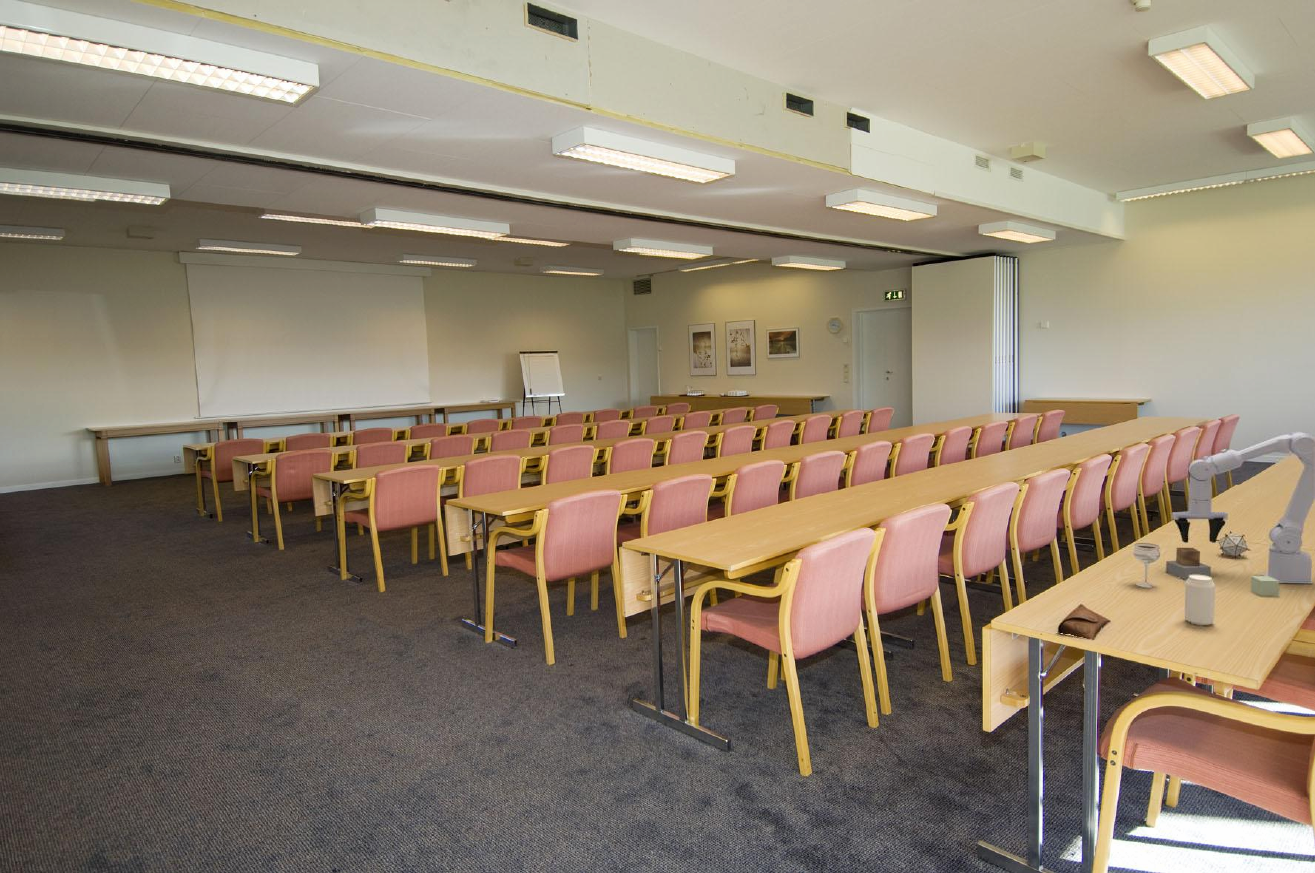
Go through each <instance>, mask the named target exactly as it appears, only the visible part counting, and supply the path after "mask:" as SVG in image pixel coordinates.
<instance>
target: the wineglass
mask: <svg viewBox="0 0 1315 873" xmlns="http://www.w3.org/2000/svg"><path fill="white" fill-rule="evenodd" d="M1133 546H1134V548H1133V550H1132V551H1133V556H1134V557H1135V558H1136V559H1137V560H1138V561H1140V562H1142V563H1143V565H1144V581H1142V582H1136V584H1135V585H1136V586H1138V587H1142V588H1151V589H1152V588H1156V587H1155V586H1156V585H1155V584H1153V583H1151V582H1147V580H1148V569H1149V567H1148V566H1149V565H1150V564H1151V563H1154V562H1156V561H1157V560H1158V559H1159V558H1160V556H1161V551H1160V548H1161V546H1160V545H1158V544H1154V543H1149V542H1148V543H1147V542H1136V543H1134V544H1133Z"/></svg>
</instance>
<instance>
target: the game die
mask: <svg viewBox="0 0 1315 873" xmlns="http://www.w3.org/2000/svg"><path fill="white" fill-rule="evenodd" d="M1244 537H1245V534H1242V535H1239V534H1234V533H1232V531H1229V534H1226V533H1225V534H1224V536H1223V537H1221V538H1220V539H1216V542H1218V544H1219V550H1221V552H1222V553H1221V556H1223V555H1224V554H1225V555H1228V556H1230V557H1233V558H1234V559H1235V560H1236V559H1237V556H1239V557H1241V555H1242V553H1245V552H1246V551H1252V550H1251V549H1250V548H1248V545H1247V543H1246V542H1247V541H1246V540H1245V538H1244Z"/></svg>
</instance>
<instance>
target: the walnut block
mask: <svg viewBox="0 0 1315 873" xmlns="http://www.w3.org/2000/svg"><path fill="white" fill-rule="evenodd" d="M1175 558H1176V559H1175V561H1176V562H1178V563H1179V564H1181V565H1183V566H1200V563H1201V551H1200V550H1198V549H1196V548H1194V547H1176V556H1175Z"/></svg>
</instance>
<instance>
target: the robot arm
mask: <svg viewBox="0 0 1315 873" xmlns="http://www.w3.org/2000/svg"><path fill="white" fill-rule="evenodd" d="M1290 452H1291V453H1293V455H1296V456H1297V458H1298V459H1299V461H1300V462H1301V464H1302V465H1303V466H1304V467H1303V470H1302V472H1301V475H1300V476H1299V478H1298V480H1297V481H1298V482H1297V483H1296V486H1295V488H1294V491H1293V493H1292V494H1291V497H1290V499H1289V502H1288V503H1287V506H1286V509H1285V511H1284V514H1283V515H1282V517H1281V518H1280V519H1279V520H1278V522H1277V523H1276V525H1275V526H1274V527H1272V528H1271V529H1270V530H1269V534H1268V537H1269V539H1270V541H1271V543H1272V544H1270V546H1269V548H1268V564H1267V565H1268V566H1267V567H1268V568H1267V573H1261V574H1260V576H1270V577H1272V578H1274V579H1276V580H1278V581H1279V584H1313V581H1312V568H1313V566H1312V565H1313V564H1312V563H1313V561H1312V560H1313V559H1312V556H1311V555H1310V553H1309V552H1308V551H1306V550H1301V547H1302V545H1303V540H1302V537H1303V533H1304V523H1305V521H1306V519H1307V517H1308V514H1309V512H1310V510H1311V508H1312V506H1313V503H1314V502H1315V437H1314V436H1313V435H1310V434H1308V433H1307V432H1304V431H1294V432H1290V433H1289V434H1282V435H1279V436H1276V437H1272V438H1271V439H1270V438H1269V439H1268V440H1265V441H1263V442H1262V441H1261V442H1260V443H1257V444H1254V445H1252V446H1250V447H1247V448H1244V449H1240V450H1238V451H1237V450H1234V449H1228V450H1227V449H1226V448H1224V449H1221V450H1220V452H1219V453H1216V454H1213V455H1210V456H1207V455H1205V456H1203V459H1195V460H1192V462H1191V463H1190V464H1189V466H1188V468H1187V470H1188V473H1189V475H1190V476H1189V484H1188V509H1187V511H1177V512H1176V511H1175V512H1174V511H1173V512H1172V513H1171V519H1173V521H1174V522H1175V524H1176V526H1177V528H1178V530H1179V534H1180V536H1181V542H1183V543H1185V544H1186V543H1189V530H1190V526H1191V522H1190V521H1188V520H1207V521H1208V526H1209V536H1208V538H1209V542H1211V543H1212V544H1213V543H1214V544H1216V543H1217V541H1216V540H1218V539H1217V538H1218V536H1219V534H1220V532H1221V530H1222V528H1223V527H1224V526H1226V525H1225V524H1226V520H1228V518H1229V517H1228V515H1229V514H1228V513H1227V512H1224V511H1212V496H1213V495H1212V494H1213V485H1212V478H1213V476H1214V475H1220V474H1223V473H1225V472H1226V473H1227V472H1229V471H1232V470H1235V469H1239V468H1241V467H1242V465H1243V463H1244V462H1245V461H1249V460H1252V459H1255V458H1259V457H1262V456H1266V455H1269V454H1272V453H1283V454H1290Z"/></svg>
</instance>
